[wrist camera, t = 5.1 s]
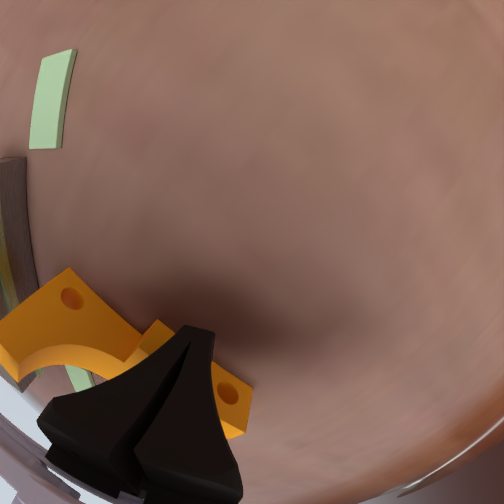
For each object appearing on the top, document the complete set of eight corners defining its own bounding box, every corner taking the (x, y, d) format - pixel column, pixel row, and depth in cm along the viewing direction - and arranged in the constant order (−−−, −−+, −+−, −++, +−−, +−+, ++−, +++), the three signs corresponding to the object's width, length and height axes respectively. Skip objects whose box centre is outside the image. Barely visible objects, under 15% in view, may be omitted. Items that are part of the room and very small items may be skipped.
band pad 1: (34, 147, 10) (28, 148, 10) (47, 59, 8) (42, 58, 8) (61, 147, 10) (55, 148, 10) (77, 50, 8) (72, 48, 8)
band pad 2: (80, 394, 18) (78, 397, 17) (64, 355, 16) (62, 358, 15) (102, 404, 18) (100, 408, 17) (88, 367, 16) (86, 370, 15)
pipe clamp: (253, 386, 14) (235, 488, 8) (208, 410, 16) (184, 493, 10) (80, 244, 12) (-12, 308, 6) (60, 292, 13) (-8, 354, 8)
